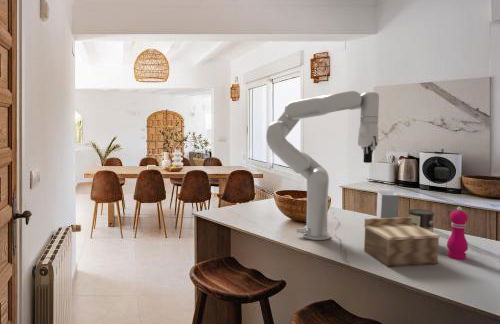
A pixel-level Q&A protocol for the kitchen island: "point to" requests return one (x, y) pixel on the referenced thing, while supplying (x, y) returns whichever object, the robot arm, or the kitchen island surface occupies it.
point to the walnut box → (401, 250)
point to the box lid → (398, 228)
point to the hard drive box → (387, 204)
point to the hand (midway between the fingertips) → (367, 162)
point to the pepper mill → (458, 235)
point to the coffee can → (422, 218)
